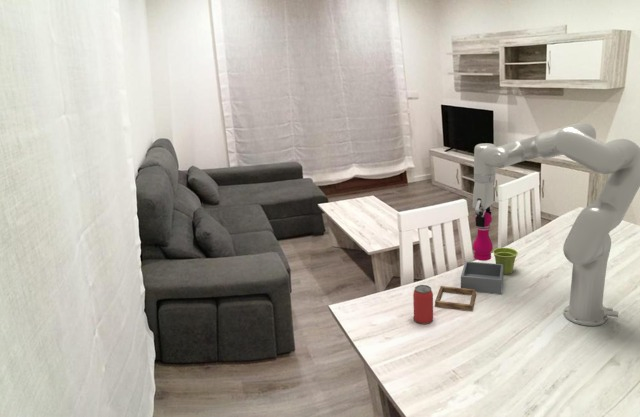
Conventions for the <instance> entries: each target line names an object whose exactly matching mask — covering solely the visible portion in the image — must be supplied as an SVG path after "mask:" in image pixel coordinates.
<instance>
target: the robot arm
mask: <svg viewBox="0 0 640 417" xmlns="http://www.w3.org/2000/svg"><path fill="white" fill-rule="evenodd" d="M473 149H474V150H473V152H474V153H473V154H474V157H473V160H474V161H473V162H474V163H473V182H474V186H473V193H472V194H473V195H472V206H471V208H472V209H474V213H475V217H476V221H475V227H485V217H484V213H485V209H486V212H487V213H489V214H490V215H491V216H492V209H493V208H492V205H493V204H494V200H495V199H494V198H495V196H494V195H495V186H494V185H495V184H494V183H495V182H496V175H497V174H496V171H497V169H504V168H507V167H509V166H512V165H515V164H518V163H521V162H525V161H529V160H533V159H538V158H542V159H545V160H546V159H551V158H555V157H561V156H565V157H566V158H568V159H570V160H572V161H574V162H576V163H577V164H579V165H581V166H583V167H585V168H587V169H589V170H591V171H593V172H595V173H597V174H601V175H602V174H603V175H609V174H610V175H609V176H608V178H607V180H606V181H605V183H604V185H603V187H602V190H601V191H600V193H599V194H598V196H597V198H596V199H595V200H594V202H592V203H590V204H588V205H587V206H586V207H584V208H583V209H582V210H581V211H580V213H579V214H578V215H577V217H576V218H575V221H574V222H573V225H572V226H571V229H570V230H569V233H568V234H567V236H566V238H565V240H564V243H563V248H562V249H563V250H562V251H563V255H564V256H565V258H566V259H567V260H568V262H569V263H571V264H572V268H571V269H572V270H571V282H570V292H569V294H570V295H569V305H567V306H566V307H564V309H563V315H564V317H565V318H566V319H567V320H569V321H570V322H572V323H575V324H577V325H581V326H587V327H588V326H589V327H595V326H596V327H597V326H601V325H603V324H605V323H606V322H607V317H612V318H613V317H614V318H619V316H620V315H619V314H620V313H619V311H618V310H614V308H613V307H606V306H604V304H603V301H604V292H605V284H606V283H605V282H606V277H607V276H606V275H607V268H608V267H607V266H608V262H609V257H610V252H611V248H612V239H611V235H610V233H611V232H612V231H613V230H614V229H616V228H617V227H619V225H620V224H621V223H622V222H623V219H624V217H625V216H626V213H627V211H628V209H629V207H631V204H632V203H633V200H634V199H635V196H636V195H637V192H638V191H639V189H640V146H639V144H636V143H635V142H634V141H632V140H630V139H627V138H617V139H612V140H610V141H608V142H606V143H605V142H603V141H600V140H599V139H597V131H596V129H595V127H594V126H593V125H591V124H590V123H587V122H577V123H574V124H569V125H565V126H562V127H559V128H555V129H552V130H551V129H550V130H548V131H545V132H540V133H538V134H536V135H534V136H531V137H526V138H523V139H520V140H516V141H512V142H509V143H505V144H503V145H498V146H496V144H494V143H491V142H490V143H487V142H486V143H478V144H476V145H475V146H474V148H473ZM496 168H497V169H496ZM481 210H482V212H481Z"/></svg>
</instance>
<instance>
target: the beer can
mask: <svg viewBox="0 0 640 417" xmlns="http://www.w3.org/2000/svg"><path fill="white" fill-rule="evenodd" d="M412 294H413V295H412V298H413V299H412V300H413V301H412V302H413V304H412V305H413V320H414V321H415V322H416V323H418V324H422V325H423V324H424V325H425V324H426V325H427V324H430V323H431V322H433V320H434V293H433V290H432V287H431V286H429V285H427V284H419V285H417V286H415V287H414V291H413V293H412Z"/></svg>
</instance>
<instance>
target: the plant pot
mask: <svg viewBox="0 0 640 417" xmlns="http://www.w3.org/2000/svg"><path fill="white" fill-rule="evenodd" d="M492 254H493V255H494V260H495V264H503V275H510V274H511V273H513V271H514V265H515V261H516V258H517V256H518V251H517V250H516V249H514V248H511V247H497V248H495V249H494V248H493V249H492Z"/></svg>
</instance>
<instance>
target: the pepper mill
mask: <svg viewBox="0 0 640 417" xmlns="http://www.w3.org/2000/svg"><path fill="white" fill-rule="evenodd" d="M480 211H481V212H482V210H480ZM484 217H485V227H477V226H475V227H476V230H477V235H476V237H475V240H474V241H473V244H472V249H473V251H474V253H473V258H474V259H475V260H476V261H482V262H485V261H486V262H487V261H490V260H491V258H492V253H491V252H493V250H494V246H493V242H492V240H491V238H490V234H489V233H490V232H489V231H490V229H491V223H492V220H493V217H492V214H491V215H490V214H489V213H487V212H486V209H485V213H484ZM474 220H475V222H476V216H475V217H474Z"/></svg>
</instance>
